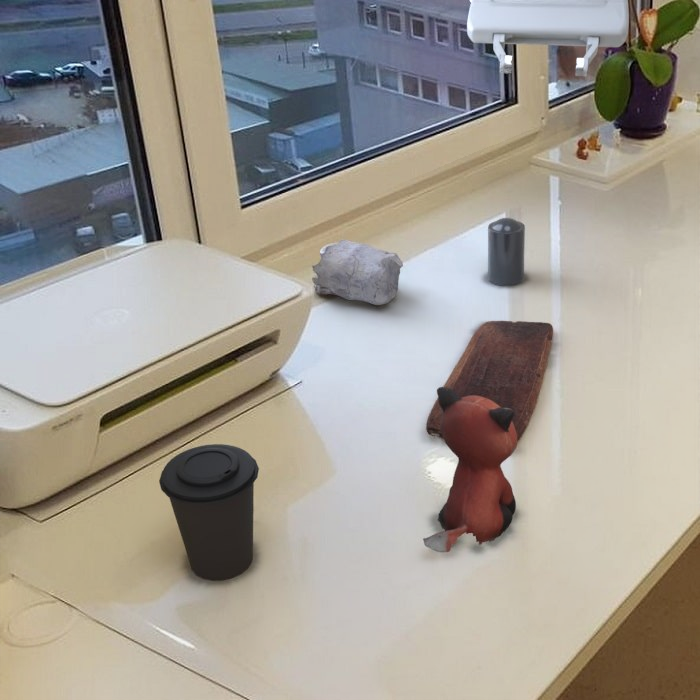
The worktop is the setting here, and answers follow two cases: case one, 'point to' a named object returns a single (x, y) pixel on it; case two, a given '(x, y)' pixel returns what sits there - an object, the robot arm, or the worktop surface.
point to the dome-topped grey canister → (506, 252)
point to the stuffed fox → (475, 469)
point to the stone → (357, 272)
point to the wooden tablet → (501, 369)
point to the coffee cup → (213, 507)
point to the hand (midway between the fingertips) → (543, 72)
